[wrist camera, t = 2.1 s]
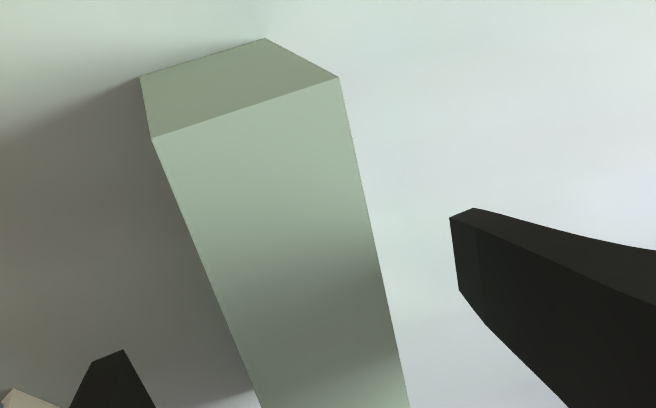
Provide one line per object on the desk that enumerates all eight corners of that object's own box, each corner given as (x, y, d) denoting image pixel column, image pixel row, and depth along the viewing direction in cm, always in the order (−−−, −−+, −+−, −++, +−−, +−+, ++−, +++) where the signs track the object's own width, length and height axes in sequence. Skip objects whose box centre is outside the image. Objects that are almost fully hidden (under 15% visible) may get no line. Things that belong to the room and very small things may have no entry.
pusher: (348, 344, 17) (423, 470, 13) (261, 383, 17) (310, 527, 13) (264, 37, 13) (338, 77, 8) (138, 75, 12) (151, 138, 8)
